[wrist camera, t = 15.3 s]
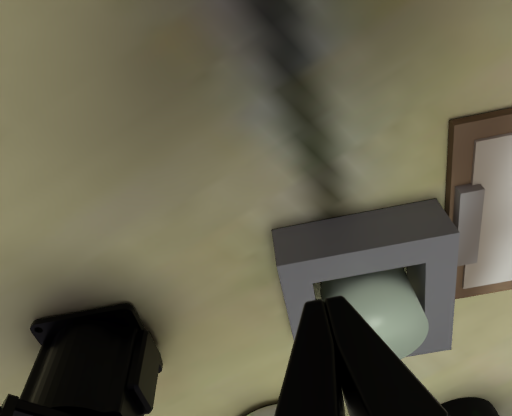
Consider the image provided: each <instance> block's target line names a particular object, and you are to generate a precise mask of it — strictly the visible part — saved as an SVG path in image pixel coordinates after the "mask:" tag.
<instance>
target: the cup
mask: <svg viewBox="0 0 512 416" xmlns="http://www.w3.org/2000/svg"><path fill="white" fill-rule="evenodd" d="M442 407H443V408H444V409H445V410H446V411H447V412H448V416H499V415H498V413H497V411H496V410H495V408H494V407H493V405H492V404H491V403H490V402H489V401H486V400H484V399H480V398H469V397H468V398H460V399H456V400H452V401H449V402H446V403H444V404H442Z"/></svg>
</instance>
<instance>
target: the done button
mask: <svg viewBox="0 0 512 416" xmlns="http://www.w3.org/2000/svg"><path fill="white" fill-rule="evenodd" d="M320 293H321V298H322V300H323V301H324V300H325V299H326V298H329V297H334V296H343V297H344V298H346V300H347V301H348V302H349V303H350V304H351V305H352V306H353V307H354V308H355V310H356V311H357V312H358V313H359V314H360V315H361V316H362V317H363V319H364V320H365V321H366V322H367V323H368V324H369V325H370V326H371V327H372V329H373V330H374V331H375V332H376V333H377V334H378V335H379V336H380V337H381V339H382V340H383V341H384V342H385V343H386V344H387V345H388V346H389V347H390V349H391V350H392V351H393V352H394V353H395V354H396V355H397V356H398V358H399V359H402V358H404V357H406V356H408V355H409V354H411V353H412V352H414V351H415V350H416V349H417V348H418V347H419V346H420V345H421V344H422V343H423V341H424V340H425V338H426V336H427V334H428V329H429V324H428V320H427V317H426V315H425V313H424V311H423V309H422V307H421V305H420V303H419V300H418V298H417V296H416V294H415V292H414V290H413V288H412V286H411V284H410V281H409V279H408V277H407V275H406V273H405V271H404V269H403V268H402V267H401V268H395V269H390V270H384V271H378V272H373V273H367V274H362V275H356V276H351V277H345V278H340V279H334V280H329V281H323V282H322V285H321V290H320Z"/></svg>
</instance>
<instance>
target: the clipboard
mask: <svg viewBox="0 0 512 416" xmlns="http://www.w3.org/2000/svg"><path fill="white" fill-rule="evenodd" d="M445 212H446V213H447V215H448V216H449V218H450V219H451V221H452V222H453V224H454V225H455V226H456V228H457V229H458V231H459V232H460V236H459V250H458V263H457V277H456V290H455V299H459V298H464V297H470V296H476V295H481V294H487V293H493V292H499V291H504V290H510V289H512V108H508V109H503V110H498V111H493V112H488V113H483V114H478V115H473V116H468V117H463V118H458V119H453V120H449V137H448V157H447V178H446V198H445Z"/></svg>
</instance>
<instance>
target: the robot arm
mask: <svg viewBox="0 0 512 416" xmlns="http://www.w3.org/2000/svg"><path fill="white" fill-rule="evenodd" d="M123 311H126V312H123ZM30 330H31V332H32V334H33V335H34V336H35V338H36V339H37V340H38V342H39V343H40V344H41V349H40V351H39V353H38V356H37V358H36V360H35V363H34V365H33V368H32V370H31V372H30V375H29V377H28V380H27V382H26V384H25V387H24V389H23V392H22V394H21V396H20V399H19V397H18V396H14V395H11V394H8V396H7V397H6V399H5V401H4V402H3V404H2V406H0V416H144V414H149V413H150V412H151V411H152V409H153V404H154V397H155V390H156V384H157V377H158V373H160V372H161V371H162V366H163V364H162V361H161V359H160V357H161V355H160V353H159V351H158V349H157V347H156V345H155V343H154V341H153V339H152V337H151V335H150V333H149V331H147V330H146V329H145V328H144V326H143V324H142V322H141V321H140V319H139V317H138V315H137V313H136V311H135V309H134V307H133V306H132V305H130V304H119V305H114V306H108V307H103V308H98V309H92V310H87V311H81V312H76V313H70V314H65V315H59V316H54V317H48V318H43V319H37V320H35V321H33V323H32V325H31V327H30ZM342 392H343V394H342ZM343 396H344V400H345V403H346V406H347V409H348V412H349V415H350V416H448V412H447V411H446V410H445V409H444V408H443V407H442V405H441V404H440V403H439V402H438V401H437V400H436V399H435V398H434V397H433V395H432V394H431V393H430V392H429V391H428V390H427V389H426V388H425V386H424V385H423V384H422V383H421V382H420V381H419V380H418V379H417V378H416V376H415V375H414V374H413V373H412V372H411V371H410V370H409V369H408V368H407V366H406V365H405V364H404V363H403V362H402V361H401V360H400V359H399V358H398V356H397V355H396V354H395V353H394V352H393V351H392V350H391V349H390V347H389V346H388V345H387V344H386V343H385V342H384V341H383V340H382V339H381V337H380V336H379V335H378V334H377V333H376V332H375V331H374V330H373V329H372V327H371V326H370V325H369V324H368V323H367V322H366V321H365V320H364V319H363V317H362V316H361V315H360V314H359V313H358V312H357V311H356V310H355V308H354V307H353V306H352V305H351V304H350V303H349V302H348V301H347V300H346V298H344V297H343V296H334V297H329V298H326V299H325V300H324V301H323V300H322V299H318V300H312V301H307V302H305V304H304V307H303V310H302V314H301V318H300V322H299V325H298V329H297V333H296V336H295V340H294V344H293V348H292V351H291V355H290V359H289V362H288V366H287V370H286V374H285V377H284V381H283V385H282V389H281V392H280V396H279V400H278V403H277V407H276V411H275V415H274V416H345V408H344V400H343Z"/></svg>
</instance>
